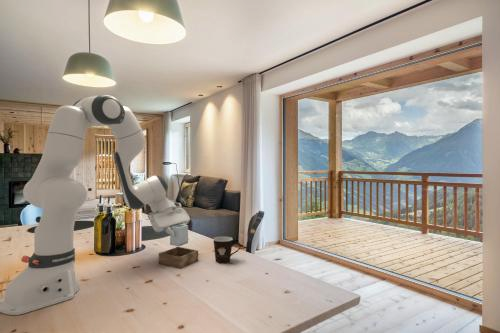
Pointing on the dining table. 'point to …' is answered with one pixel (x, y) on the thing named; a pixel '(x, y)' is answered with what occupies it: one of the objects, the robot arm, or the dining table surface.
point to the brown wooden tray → (178, 257)
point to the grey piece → (179, 235)
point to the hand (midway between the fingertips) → (180, 234)
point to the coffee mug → (223, 249)
